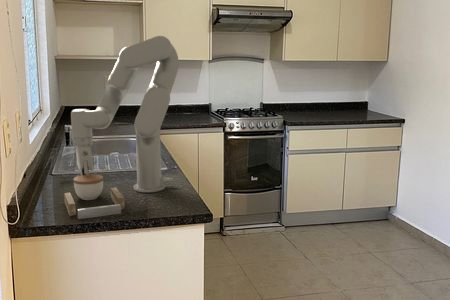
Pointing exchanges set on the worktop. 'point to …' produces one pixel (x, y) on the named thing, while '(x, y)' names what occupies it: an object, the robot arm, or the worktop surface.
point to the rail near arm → (117, 197)
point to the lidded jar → (88, 186)
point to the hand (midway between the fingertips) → (85, 186)
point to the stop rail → (99, 211)
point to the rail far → (70, 204)
